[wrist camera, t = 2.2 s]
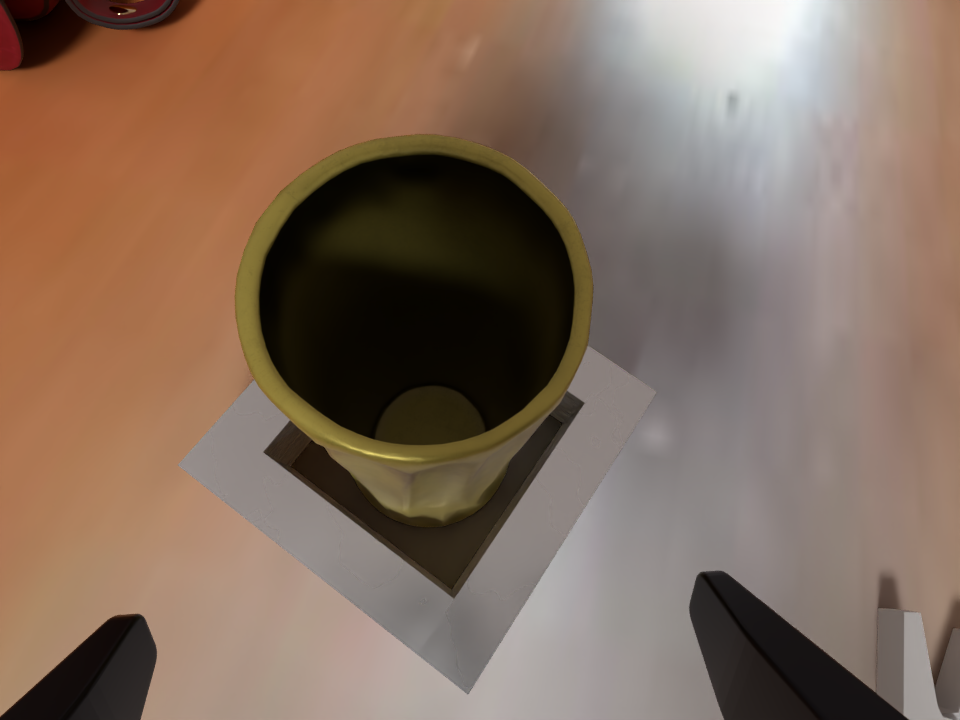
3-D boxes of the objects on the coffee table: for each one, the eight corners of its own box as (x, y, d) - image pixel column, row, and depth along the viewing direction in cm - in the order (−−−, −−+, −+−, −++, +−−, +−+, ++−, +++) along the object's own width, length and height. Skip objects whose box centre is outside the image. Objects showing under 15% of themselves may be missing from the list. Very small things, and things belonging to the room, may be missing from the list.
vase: (494, 357, 23) (577, 91, 9) (523, 511, 21) (678, 459, 8) (341, 380, 22) (190, 126, 9) (359, 541, 20) (205, 543, 7)
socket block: (462, 668, 19) (468, 694, 16) (219, 477, 21) (177, 465, 17) (624, 413, 23) (657, 392, 19) (404, 262, 24) (399, 217, 21)
